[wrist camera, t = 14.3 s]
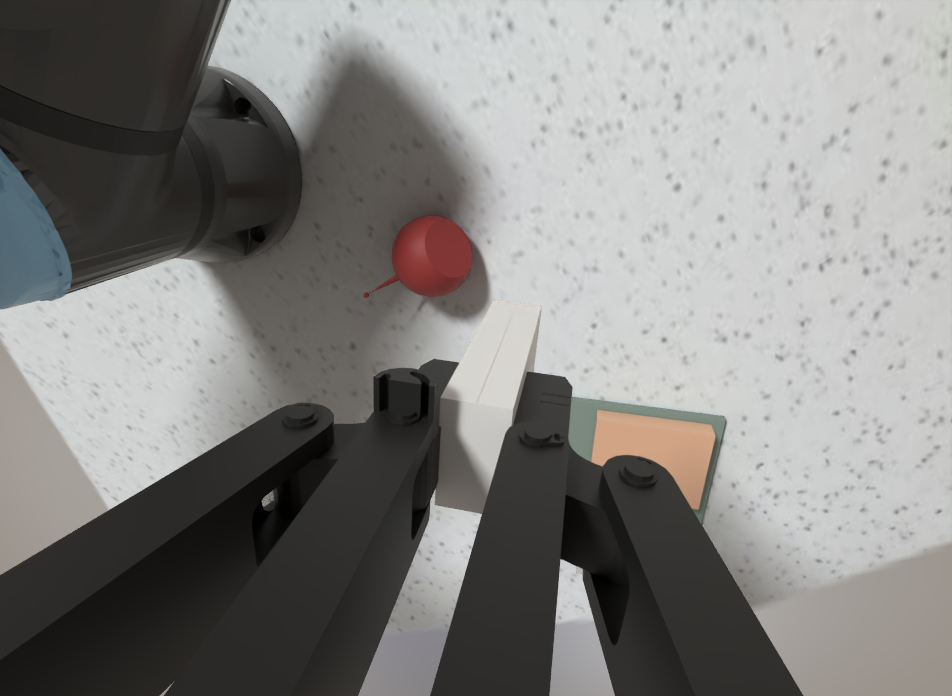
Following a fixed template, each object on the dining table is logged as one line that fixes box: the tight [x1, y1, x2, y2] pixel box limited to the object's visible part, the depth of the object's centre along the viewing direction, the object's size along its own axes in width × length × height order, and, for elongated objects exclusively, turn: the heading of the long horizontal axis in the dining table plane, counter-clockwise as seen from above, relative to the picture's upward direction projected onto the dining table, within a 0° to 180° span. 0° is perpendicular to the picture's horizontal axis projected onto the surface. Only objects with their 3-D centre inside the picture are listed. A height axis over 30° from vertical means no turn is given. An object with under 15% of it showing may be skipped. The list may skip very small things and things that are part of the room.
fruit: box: [364, 216, 472, 298], centre depth 42 cm, size 6×6×8 cm
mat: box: [562, 397, 726, 560], centre depth 49 cm, size 18×17×1 cm
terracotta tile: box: [590, 410, 715, 510], centre depth 46 cm, size 2×7×9 cm
